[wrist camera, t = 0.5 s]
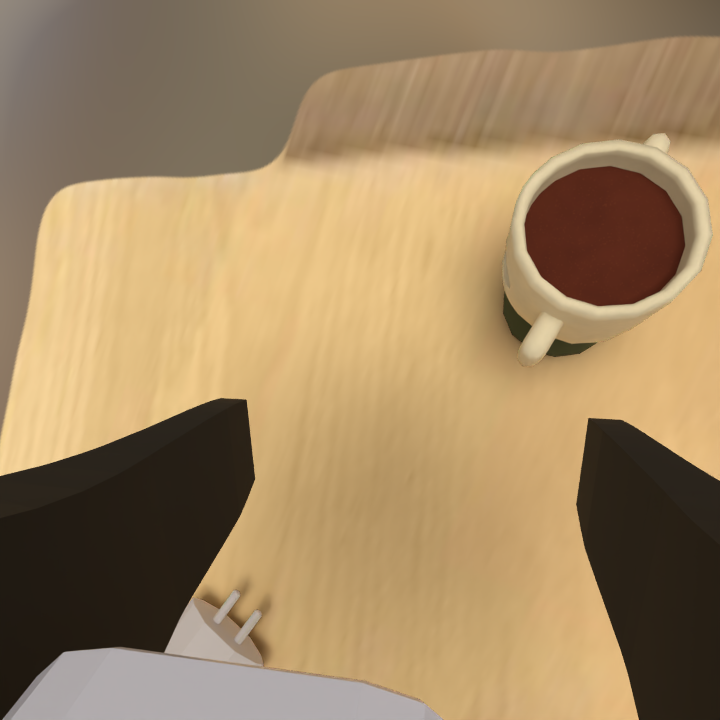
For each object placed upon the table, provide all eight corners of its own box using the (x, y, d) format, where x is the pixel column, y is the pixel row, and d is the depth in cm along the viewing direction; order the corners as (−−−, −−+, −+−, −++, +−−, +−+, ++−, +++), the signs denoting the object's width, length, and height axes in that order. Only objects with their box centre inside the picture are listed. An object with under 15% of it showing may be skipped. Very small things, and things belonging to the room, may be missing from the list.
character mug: (548, 204, 34) (595, 66, 21) (659, 257, 32) (780, 141, 20) (457, 354, 34) (449, 304, 21) (563, 415, 32) (624, 400, 19)
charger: (320, 641, 33) (174, 839, 33) (211, 542, 35) (74, 728, 35) (295, 674, 29) (126, 904, 29) (172, 557, 31) (15, 771, 31)
